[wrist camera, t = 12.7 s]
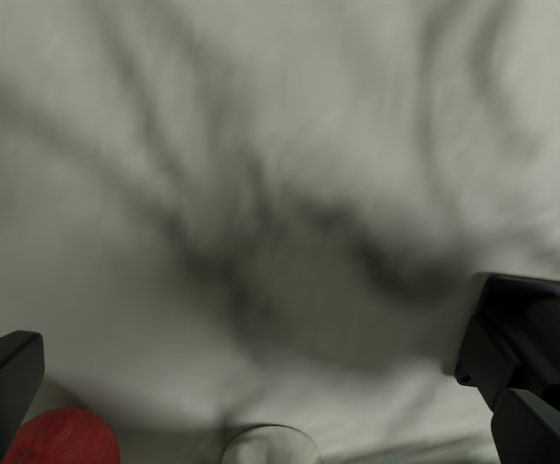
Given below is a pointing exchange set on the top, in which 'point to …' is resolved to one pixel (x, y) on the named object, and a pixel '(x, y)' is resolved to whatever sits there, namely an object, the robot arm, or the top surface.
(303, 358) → the top surface
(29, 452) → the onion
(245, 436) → the beer glass
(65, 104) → the top surface
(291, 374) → the top surface
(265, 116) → the top surface
